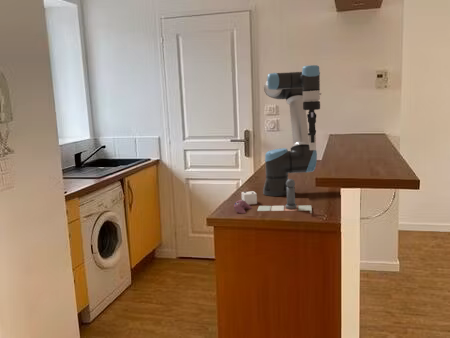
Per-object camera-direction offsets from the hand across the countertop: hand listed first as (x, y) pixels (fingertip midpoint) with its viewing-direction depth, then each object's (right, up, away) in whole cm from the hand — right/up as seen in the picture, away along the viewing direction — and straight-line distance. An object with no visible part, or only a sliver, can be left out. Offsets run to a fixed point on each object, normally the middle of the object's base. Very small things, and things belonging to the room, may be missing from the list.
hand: (312, 148), depth 206 cm
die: (-28, -27, +11) cm, 40 cm away
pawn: (-10, -27, -3) cm, 29 cm away
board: (-13, -28, -2) cm, 31 cm away
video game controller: (-31, -29, -3) cm, 43 cm away
